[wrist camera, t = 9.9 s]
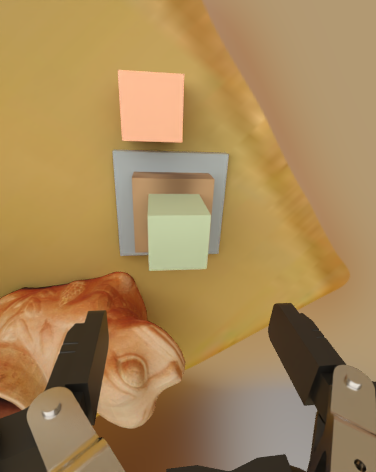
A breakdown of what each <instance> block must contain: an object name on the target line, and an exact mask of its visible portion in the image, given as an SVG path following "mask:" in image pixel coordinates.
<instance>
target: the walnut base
mask: <svg viewBox="0 0 376 472" xmlns="http://www.w3.org/2000/svg"><path fill="white" fill-rule="evenodd" d="M214 182H215V179H214V178H213V177H212V176H211V175H210V174H209V173H180V172H133V176H132V195H133V217H134V238H135V253H143V252H148V195H149V194H199V195H200V197H201V198H202V200H203V202H204V204H205V205H206V207H207V209H208V211H209V212H210V214H211V216H212V205H213V193H214ZM210 228H211V223H210ZM209 240H210V235H209ZM208 251H209V247H208Z"/></svg>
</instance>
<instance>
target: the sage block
mask: <svg viewBox="0 0 376 472" xmlns="http://www.w3.org/2000/svg"><path fill="white" fill-rule="evenodd" d="M210 223H211V214H210V212H209V211H208V209H207V207H206V205H205V204H204V202H203V200H202V198H201V197H200V195H199V194H149V195H148V253H149V271H158V270H190V269H207V259H208V247H209V235H210Z"/></svg>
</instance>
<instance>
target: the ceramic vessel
mask: <svg viewBox="0 0 376 472" xmlns="http://www.w3.org/2000/svg"><path fill="white" fill-rule="evenodd" d="M97 310H106V312H107V322H108V332H109V346H108V353H107V359H106V364H105V369H104V375H103V380H102V386H101V391H100V397H99V402H98V408H97V412H98V413H99V414H100V415H101V416H102V417H104V418H105V419H106V420H108V421H110V422H111V423H114V424H116V425H118V426H120V427H124V428H136V427H138V426H141V425H143V424H144V423H145V422H146V421H147V420H148V419H149V418H150V417H151V415H152V414H153V412H154V410H155V406H156V401H157V398H158V396H159V394H160V393H161V392H162V391H163V390H165V389H166V388H168V387H170V386H172V385H174V384H177V383H179V382H181V379H182V375H183V374H184V368H185V360H184V357H183V354H182V351H181V349H180V348H179V346H178V345H177V343H176V342H175V341H174V340H173V339H172V337H171V336H170V335H169V334H168V333H167V332H166V331H165V330H163V329H162V328H160V327H159V326H157V325H156V324H154V323H151V322H149V321H147V312H146V308H145V304H144V302H143V299H142V297H141V294H140V292H139V290H138V288H137V286H136V284H135V281H134V279H133V278H132V277H131V276H130V275H129V274H128V273H124V272H114V273H111V274H108V275H106V276H103V277H98V278H94V279H88V280H78V281H73V282H71V283H68V284H63V285H56V286H49V287H41V288H28V287H25V288H22V289H20V290H17V291H15V292H11V293H10V294H8V295H6V296H4V297H2V298H0V418H3V417H6V416H8V415H11V414H14V413H16V412H19V411H21V410H23V409H25V408H27V407H29V406H30V405H31V403H32V402H33V400H34V399H35V398H36V397H37V396H38V395H40V394H41V393H42V392H44V390H45V388H46V386H47V383H48V381H49V378H50V376H51V373H52V370H53V368H54V365H55V362H56V360H57V357H58V355H59V354H60V349H61V347H62V345H63V342H64V339H65V336H66V334H67V332H68V331H69V330H70V329H71V328H72V327H73V325H74V324H75V323H85V319H86V316H87V313H88V311H97Z"/></svg>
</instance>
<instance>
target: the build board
mask: <svg viewBox="0 0 376 472" xmlns="http://www.w3.org/2000/svg"><path fill="white" fill-rule="evenodd" d="M228 157H229V154H227V153H213V152H179V151H145V150H113V163H114V177H115V190H116V204H117V217H118V231H119V244H120V256H128V255H149V253H148V252H143V253H135V238H134V217H133V195H132V176H133V172H180V173H209V174H210V175H211V176H212V177H213V178H214V179H215V182H214V193H213V205H212V216H211V228H210V240H209V251H208V254H218V253H219V243H220V233H221V224H222V214H223V205H224V195H225V186H226V176H227V167H228Z"/></svg>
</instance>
